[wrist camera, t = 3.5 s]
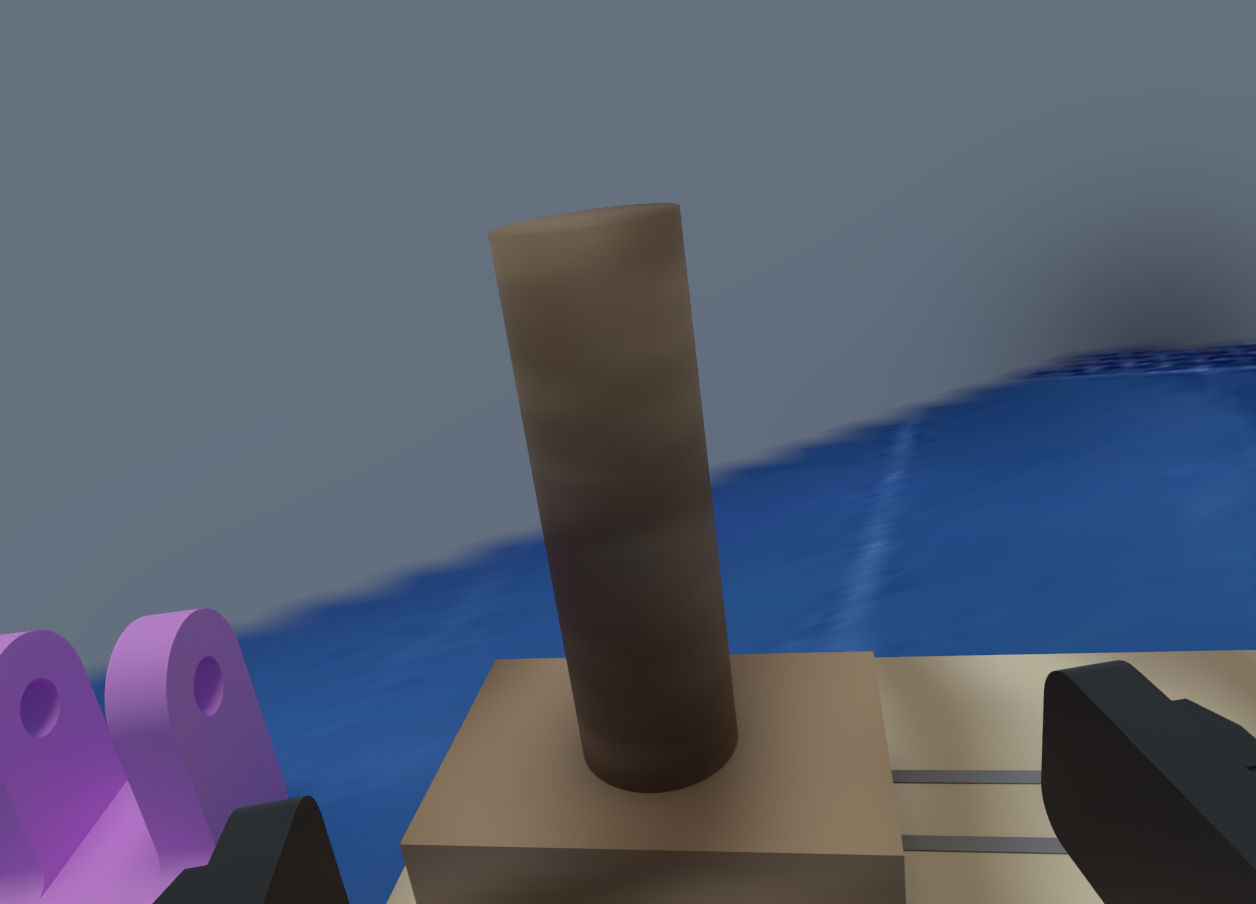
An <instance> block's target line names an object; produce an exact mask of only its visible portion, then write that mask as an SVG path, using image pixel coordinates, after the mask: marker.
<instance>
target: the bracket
mask: <svg viewBox="0 0 1256 904" xmlns="http://www.w3.org/2000/svg"><path fill="white" fill-rule="evenodd" d="M105 711H106V719H107V724H106V721H105V719H104V716H103V714H102V711H101V709H100V707H99V704H98V702H97V699H96V697H95V694H94V692H93V689H92V687H91V684H90V682H89V679H88V677H87V674H86V672H85V669H84V667H83V664H82V662H81V660H80V658H79V656H78V654H77V652H76V651H75V650H74V648H73V647H72V646H71V644H70V643H69V642H67V640H65V639H64V638H63V637H61V636H60V635H58V634H56V633H54V632H51V631H46V630H35V631H27V632H19V633H11V634H4V635H0V904H152V903H153V902H154V901H155V900H156V899H157V898H158V897H159V896H160V895H161V894H162V893H163V891H164V890H165V889H166V888H167V887H168V886H169V885H170V884H171V883H172V882H173V881H174V880H175V878H176V877H177V876H178V875H179V874H180V873H181V872H182V871H183V870H184V869H187V868H193V867H198V866H204V865H207V864H208V862H209V860H210V858H211V855H212V853H213V851H214V849H215V847H216V844H217V842H218V840H219V838H220V836H221V833H222V831H223V829H224V827H225V825H226V822H227V820H228V818H229V817H230V815H231V814H232V812H233V811H234V810H235V809H237V808H240V807H245V806H251V805H256V804H262V803H268V802H274V801H280V800H286V799H288V798H289V795H288V792H287V789H286V786H285V783H284V780H283V777H282V774H281V771H280V768H279V765H278V762H277V759H276V756H275V753H274V750H273V747H272V744H271V740H270V737H269V734H268V731H267V728H266V725H265V722H264V719H263V716H262V713H261V710H260V707H259V704H258V701H257V698H256V695H255V692H254V689H253V686H252V683H251V680H250V677H249V674H248V671H247V668H246V665H245V661H244V658H243V655H242V652H241V649H240V646H239V643H238V641H237V638H236V636H235V633H234V631H233V629H232V628H231V626H230V624H229V623H228V621H227V620H226V619H225V618H224V617H223V616H222V615H221V614H220V613H218V612H217V611H215V610H212V609H209V608H202V609H194V610H188V611H179V612H172V613H164V614H157V615H149V616H143V617H141V618H138V619H137V620H135V621H133V622H132V623H131V624H130V625H129V626H128V627H127V628H126V629H125V630H124V632H123V633H122V634H121V636H120V638H119V639H118V641H117V643H116V645H115V647H114V650H113V652H112V655H111V658H110V661H109V665H108V670H107V676H106V683H105ZM107 725H108V726H107Z"/></svg>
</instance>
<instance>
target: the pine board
mask: <svg viewBox="0 0 1256 904" xmlns="http://www.w3.org/2000/svg"><path fill="white" fill-rule="evenodd" d="M874 660H875V667H876V673H877V680H878V687H879V693H880V700H881V706H882V713H883V719H884V726H885V733H886V739H887V746H888V752H889V759H890V766H891V772H892V779H893V785H894V792H895V798H896V805H897V812H898V818H899V825H900V831H901V838H902V844H903V851H904V864H905V891H906V904H1104V903H1103V901H1102V900H1101V898H1100V897H1099V896H1098V894H1097V893H1096V892H1095V890H1094V889H1093V888H1092V886H1091V885H1090V883H1089V882H1088V881H1087V879H1086V878H1085V877H1084V875H1083V874H1082V872H1081V871H1080V870H1079V868H1078V867H1077V866H1076V864H1075V863H1074V862H1073V860H1072V859H1071V857H1070V856H1069V855H1068V853H1067V852H1066V851H1065V849H1064V848H1063V846H1062V845H1061V843H1060V842H1059V840H1058V838H1057V837H1056V835H1055V833H1054V831H1053V829H1052V826H1051V824H1050V821H1049V819H1048V816H1047V813H1046V810H1045V806H1044V802H1043V797H1042V790H1041V764H1042V732H1043V700H1044V685H1045V680H1046V678H1047V676H1048V675H1049V673H1050V672H1052V671H1056V670H1062V669H1068V668H1073V667H1079V666H1085V665H1091V664H1097V663H1103V662H1109V661H1115V660H1122V661H1126V662H1128V663H1130V664H1131V665H1132V666H1134V667H1135V668H1136V669H1137V670H1138V671H1139V672H1141V673H1142V674H1143V675H1144V676H1145V677H1146V678H1147V679H1148V680H1149V681H1151V682H1152V683H1153V684H1154V685H1155V686H1156V687H1157V688H1158V689H1159V690H1161V691H1162V692H1163V693H1164V694H1165V695H1166V696H1167V697H1168V698H1169V699H1171V700H1172V701H1173V700H1179V699H1185V698H1186V699H1188V700H1190V701H1192V702H1195V703H1197V704H1199V705H1201V706H1203V707H1205V708H1207V709H1209V710H1211V711H1213V712H1215V713H1217V714H1219V715H1221V716H1223V717H1225V718H1227V719H1229V720H1231V721H1233V722H1235V723H1237V724H1239V725H1241V726H1242V727H1243V728H1244V729H1245V730H1247V731H1248V732H1249V733H1250V734H1251V735H1252V736H1254V737H1255V738H1256V650H1230V651H1180V652H1131V653H1081V654H1031V655H981V656H931V657H882V658H874ZM387 904H416V901H415V897H414V893H413V890H412V886H411V883H410V879H409V876H408V872H407V868H406V866H405V868H404V870H403V872H402V874H401V876H400V878H399V880H398V882H397V884H396V886H395V888H394V890H393V892H392V894H391V896H390V898H389V900H388V902H387Z"/></svg>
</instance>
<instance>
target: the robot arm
mask: <svg viewBox="0 0 1256 904" xmlns="http://www.w3.org/2000/svg"><path fill="white" fill-rule="evenodd" d="M1041 790H1042V797H1043V802H1044V806H1045V810H1046V813H1047V816H1048V819H1049V821H1050V824H1051V826H1052V829H1053V831H1054V833H1055V835H1056V837H1057V838H1058V840H1059V842H1060V843H1061V845H1062V846H1063V848H1064V849H1065V851H1066V852H1067V853H1068V855H1069V856H1070V857H1071V859H1072V860H1073V862H1074V863H1075V864H1076V866H1077V867H1078V868H1079V870H1080V871H1081V872H1082V874H1083V875H1084V877H1085V878H1086V879H1087V881H1088V882H1089V883H1090V885H1091V886H1092V888H1093V889H1094V890H1095V892H1096V893H1097V894H1098V896H1099V897H1100V898H1101V900H1102V901H1103V903H1104V904H1256V738H1255V737H1254V736H1252V735H1251V734H1250V733H1249V732H1248V731H1247V730H1245V729H1244V728H1243V727H1242V726H1241V725H1239V724H1237V723H1235V722H1233V721H1231V720H1229V719H1227V718H1225V717H1223V716H1221V715H1219V714H1217V713H1215V712H1213V711H1211V710H1209V709H1207V708H1205V707H1203V706H1201V705H1199V704H1197V703H1195V702H1192V701H1190V700H1188V699H1186V698H1185V699H1179V700H1173V701H1172V700H1171V699H1169V698H1168V697H1167V696H1166V695H1165V694H1164V693H1163V692H1162V691H1161V690H1159V689H1158V688H1157V687H1156V686H1155V685H1154V684H1153V683H1152V682H1151V681H1149V680H1148V679H1147V678H1146V677H1145V676H1144V675H1143V674H1142V673H1141V672H1139V671H1138V670H1137V669H1136V668H1135V667H1134V666H1132V665H1131V664H1130V663H1128V662H1126V661H1122V660H1115V661H1109V662H1103V663H1097V664H1091V665H1085V666H1079V667H1073V668H1068V669H1062V670H1056V671H1052V672H1050V673H1049V675H1048V676H1047V678H1046V680H1045V685H1044V700H1043V732H1042V764H1041ZM152 904H349V901H348V898H347V895H346V891H345V888H344V885H343V882H342V879H341V875H340V872H339V869H338V866H337V863H336V860H335V856H334V853H333V850H332V847H331V844H330V840H329V837H328V834H327V831H326V828H325V824H324V821H323V818H322V815H321V812H320V809H319V807H318V805H317V803H316V801H315V800H314V799H313V798H312V797H311V796H303V797H298V798H292V799H286V800H280V801H274V802H268V803H262V804H256V805H251V806H245V807H240V808H237V809H235V810H234V811H233V812H232V814H231V815H230V817H229V818H228V820H227V822H226V825H225V827H224V829H223V831H222V833H221V836H220V838H219V840H218V842H217V844H216V847H215V849H214V851H213V853H212V855H211V858H210V860H209V862H208V864H207V865H204V866H198V867H193V868H187V869H184V870H183V871H182V872H181V873H180V874H179V875H178V876H177V877H176V878H175V880H174V881H173V882H172V883H171V884H170V885H169V886H168V887H167V888H166V889H165V890H164V891H163V893H162V894H161V895H160V896H159V897H158V898H157V899H156V900H155V901H154V902H153V903H152Z"/></svg>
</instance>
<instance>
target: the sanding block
mask: <svg viewBox="0 0 1256 904" xmlns="http://www.w3.org/2000/svg"><path fill="white" fill-rule="evenodd" d="M488 235H489V241H490V246H491V251H492V257H493V262H494V268H495V273H496V278H497V284H498V290H499V295H500V301H501V306H502V311H503V317H504V322H505V328H506V333H507V339H508V344H509V349H510V355H511V361H512V366H513V371H514V376H515V382H516V388H517V393H518V399H519V404H520V409H521V415H522V420H523V426H524V431H525V437H526V442H527V448H528V453H529V458H530V464H531V469H532V475H533V480H534V486H535V492H536V497H537V502H538V508H539V513H540V519H541V524H542V530H543V535H544V541H545V546H546V552H547V557H548V562H549V568H550V573H551V579H552V584H553V590H554V595H555V601H556V606H557V612H558V617H559V622H560V628H561V633H562V639H563V644H564V650H565V655H566V658H543V659H497V660H496V661H495V663H494V665H493V666H492V668H491V670H490V672H489V674H488V676H487V678H486V680H485V682H484V684H483V686H482V688H481V689H480V691H479V693H478V695H477V697H476V699H475V701H474V703H473V705H472V707H471V709H470V711H469V713H468V714H467V716H466V718H465V720H464V722H463V724H462V726H461V728H460V730H459V732H458V734H457V736H456V737H455V739H454V741H453V743H452V745H451V747H450V749H449V751H448V753H447V755H446V757H445V759H444V760H443V762H442V764H441V766H440V768H439V770H438V772H437V774H436V776H435V778H434V780H433V782H432V784H431V785H430V787H429V789H428V791H427V793H426V795H425V797H424V799H423V801H422V803H421V805H420V807H419V808H418V810H417V812H416V814H415V816H414V818H413V820H412V822H411V824H410V826H409V828H408V830H407V831H406V833H405V835H404V837H403V839H402V841H401V843H400V847H401V851H402V854H403V858H404V861H405V865H406V868H407V872H408V876H409V879H410V883H411V886H412V890H413V893H414V897H415V901H416V904H906V891H905V864H904V851H903V844H902V838H901V831H900V825H899V818H898V812H897V805H896V798H895V792H894V785H893V779H892V772H891V766H890V759H889V752H888V746H887V739H886V733H885V726H884V719H883V713H882V706H881V700H880V693H879V687H878V680H877V673H876V667H875V660H874V654H873V651H870V652H824V653H777V654H730V655H729V648H728V639H727V630H726V620H725V611H724V602H723V593H722V584H721V575H720V566H719V557H718V548H717V539H716V530H715V521H714V512H713V503H712V494H711V485H710V476H709V467H708V458H707V449H706V440H705V431H704V422H703V414H702V404H701V395H700V386H699V377H698V368H697V359H696V350H695V341H694V332H693V323H692V314H691V305H690V296H689V287H688V278H687V269H686V260H685V252H684V242H683V233H682V224H681V215H680V206H679V205H678V204H672V203H651V204H635V205H624V206H614V207H606V208H598V209H591V210H583V211H576V212H570V213H563V214H557V215H552V216H546V217H541V218H536V219H531V220H526V221H522V222H517V223H513V224H509V225H505V226H502V227H499V228H496V229H493V230H491V231H490V232H488Z"/></svg>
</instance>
